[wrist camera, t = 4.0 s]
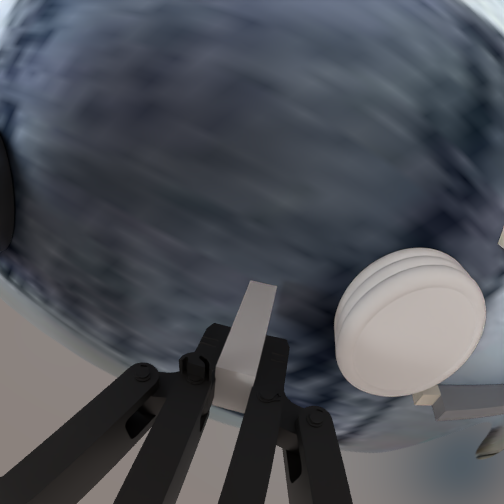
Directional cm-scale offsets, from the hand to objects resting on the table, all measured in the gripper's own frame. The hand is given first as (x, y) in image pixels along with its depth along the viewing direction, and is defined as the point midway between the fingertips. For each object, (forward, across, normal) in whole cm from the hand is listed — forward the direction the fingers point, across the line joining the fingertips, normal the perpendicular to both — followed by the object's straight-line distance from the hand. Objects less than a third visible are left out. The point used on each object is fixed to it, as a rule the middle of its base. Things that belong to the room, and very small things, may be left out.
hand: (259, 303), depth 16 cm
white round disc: (+2, +10, 0) cm, 10 cm away
